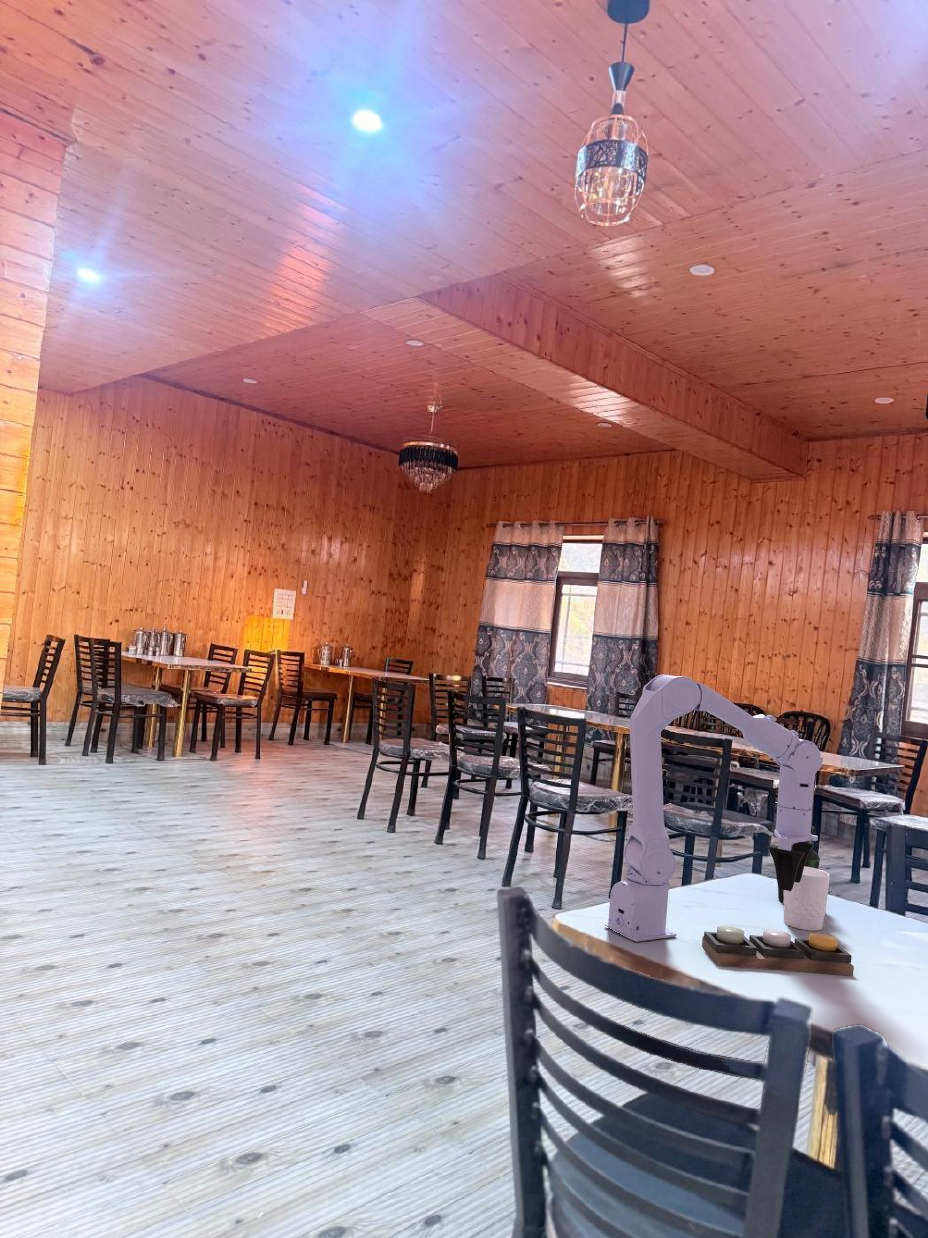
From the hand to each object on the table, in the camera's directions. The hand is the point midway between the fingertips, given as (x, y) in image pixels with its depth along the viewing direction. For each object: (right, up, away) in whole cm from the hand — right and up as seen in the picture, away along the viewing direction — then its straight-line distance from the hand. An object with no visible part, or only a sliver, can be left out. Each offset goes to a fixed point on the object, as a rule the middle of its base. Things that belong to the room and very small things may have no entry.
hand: (789, 885), depth 150 cm
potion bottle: (+11, -11, +25) cm, 29 cm away
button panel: (-7, -8, -12) cm, 16 cm away
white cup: (+6, -10, +9) cm, 15 cm away
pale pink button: (-7, -5, -12) cm, 15 cm away
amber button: (+1, -6, -12) cm, 13 cm away
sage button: (-14, -5, -12) cm, 19 cm away
